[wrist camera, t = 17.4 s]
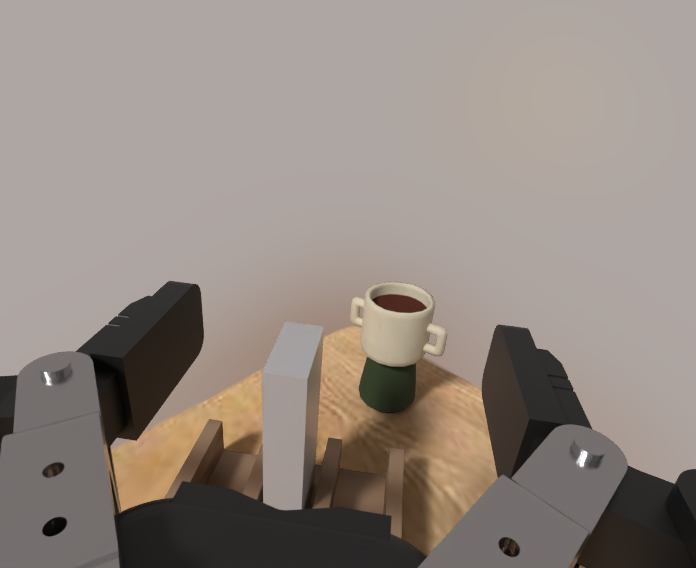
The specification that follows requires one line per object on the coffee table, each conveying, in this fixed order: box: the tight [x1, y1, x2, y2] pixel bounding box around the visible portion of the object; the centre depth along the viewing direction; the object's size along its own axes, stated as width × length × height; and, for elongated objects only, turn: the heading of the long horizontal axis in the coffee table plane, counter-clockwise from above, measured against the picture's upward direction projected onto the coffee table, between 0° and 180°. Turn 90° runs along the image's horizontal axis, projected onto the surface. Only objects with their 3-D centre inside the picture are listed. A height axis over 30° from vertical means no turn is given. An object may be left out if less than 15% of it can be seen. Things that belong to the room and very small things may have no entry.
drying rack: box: [164, 419, 404, 538], centre depth 38 cm, size 10×17×4 cm, turn 82°
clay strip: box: [262, 322, 324, 510], centre depth 34 cm, size 6×3×16 cm, turn 173°
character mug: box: [350, 282, 447, 412], centre depth 50 cm, size 11×7×13 cm, turn 58°
